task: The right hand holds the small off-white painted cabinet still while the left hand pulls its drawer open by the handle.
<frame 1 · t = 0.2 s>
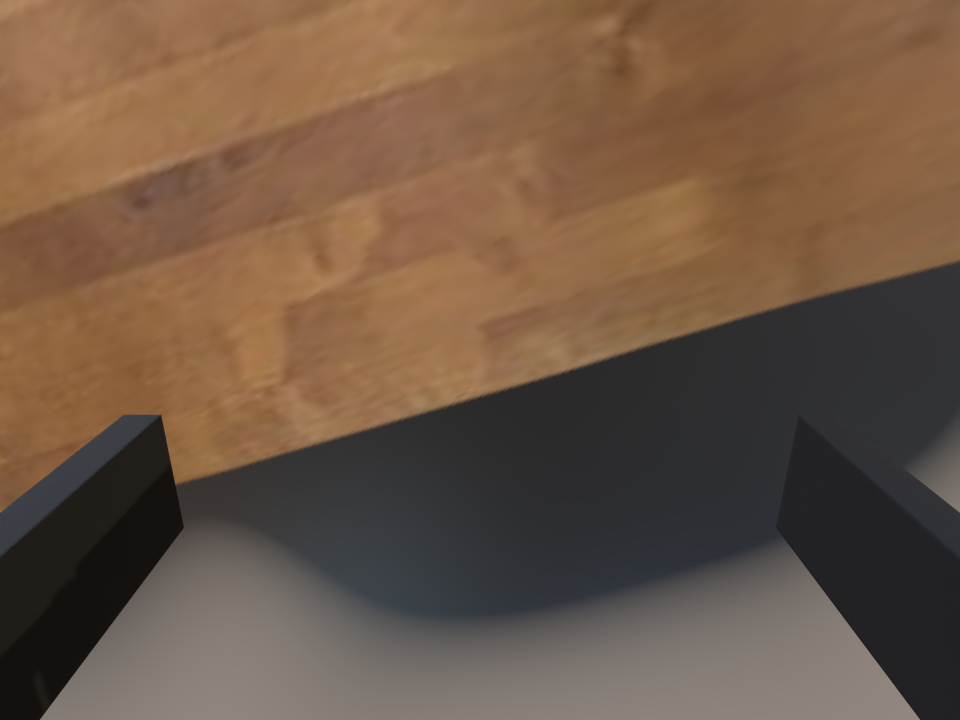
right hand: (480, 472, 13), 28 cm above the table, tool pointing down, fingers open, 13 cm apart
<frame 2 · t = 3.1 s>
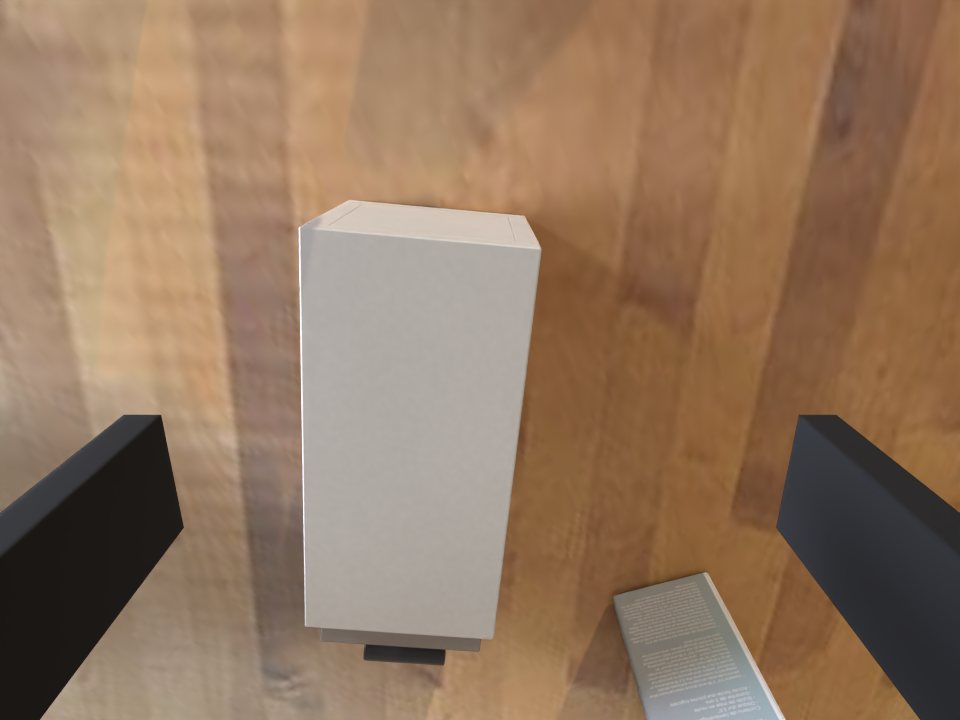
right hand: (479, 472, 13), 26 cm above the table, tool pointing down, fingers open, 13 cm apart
cabinet: (426, 378, 40), on the table
hard drive box: (678, 653, 48), on the table
drawer: (414, 496, 37), point 5 cm above the table, slide at 0.8 cm
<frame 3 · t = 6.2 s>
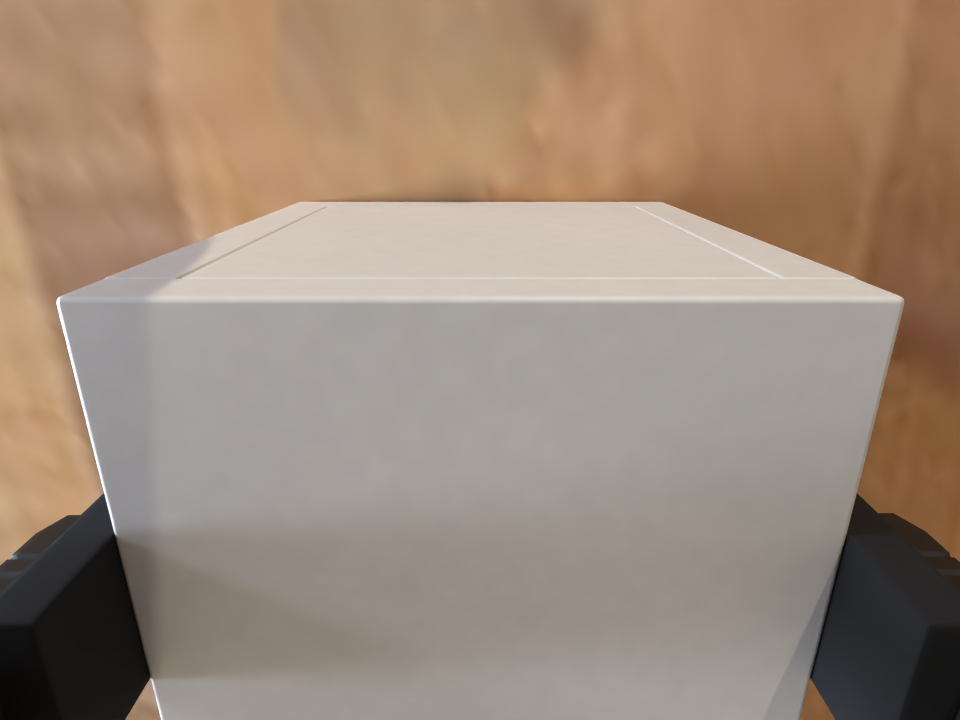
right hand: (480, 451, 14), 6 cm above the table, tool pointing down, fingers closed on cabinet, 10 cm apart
cabinet: (480, 523, 21), on the table, touching right hand
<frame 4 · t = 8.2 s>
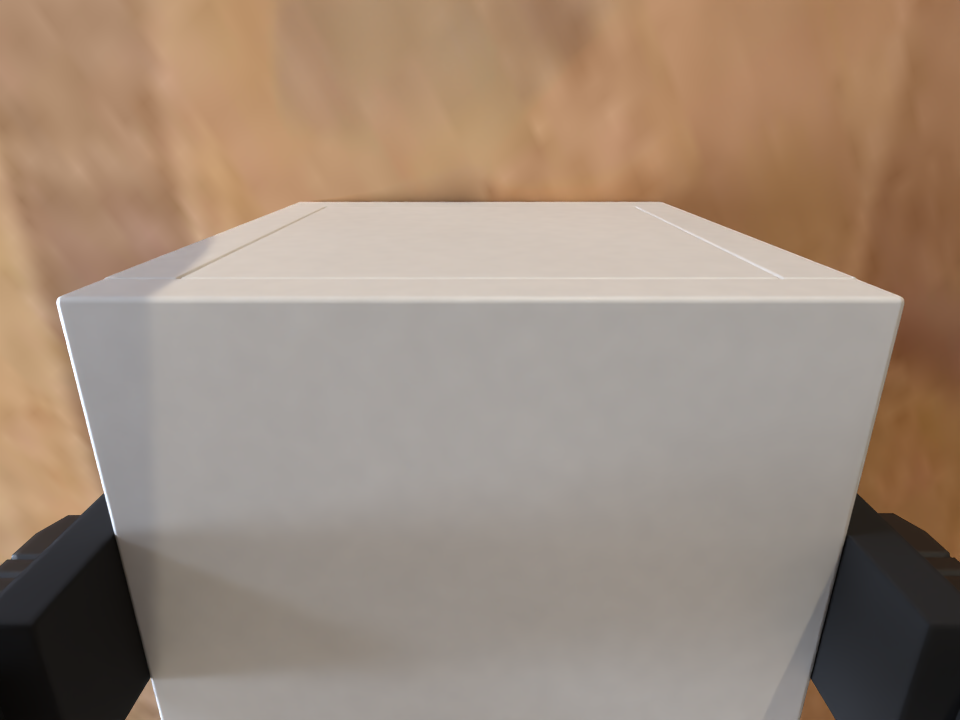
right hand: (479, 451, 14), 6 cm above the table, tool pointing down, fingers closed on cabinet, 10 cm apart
cabinet: (480, 523, 21), on the table, touching right hand
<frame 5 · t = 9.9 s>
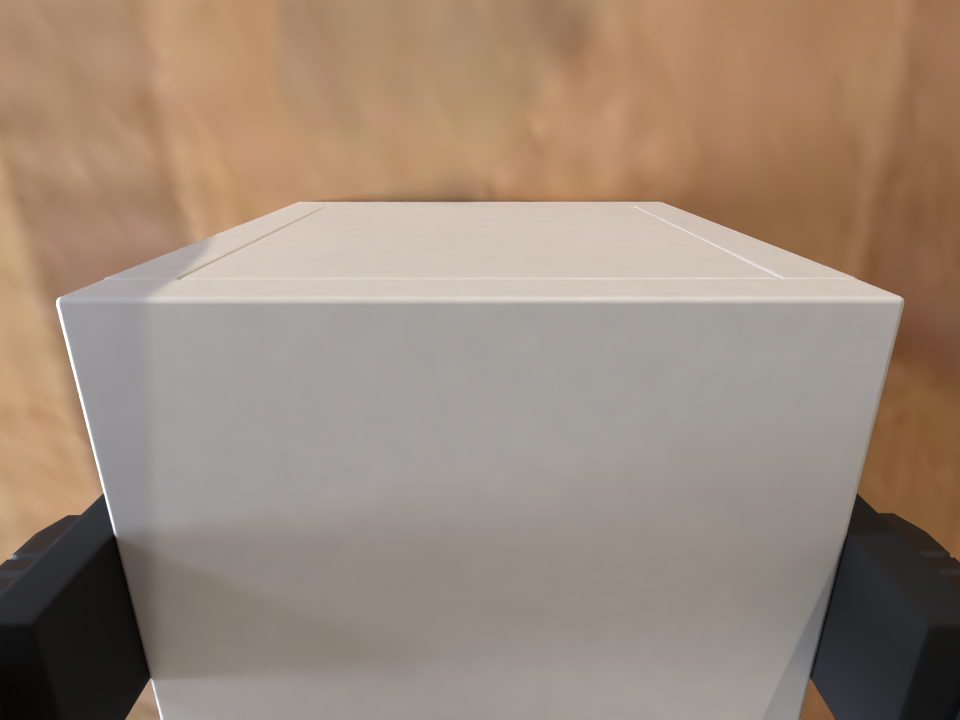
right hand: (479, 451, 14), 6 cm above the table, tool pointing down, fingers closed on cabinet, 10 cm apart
cabinet: (480, 523, 21), on the table, touching right hand
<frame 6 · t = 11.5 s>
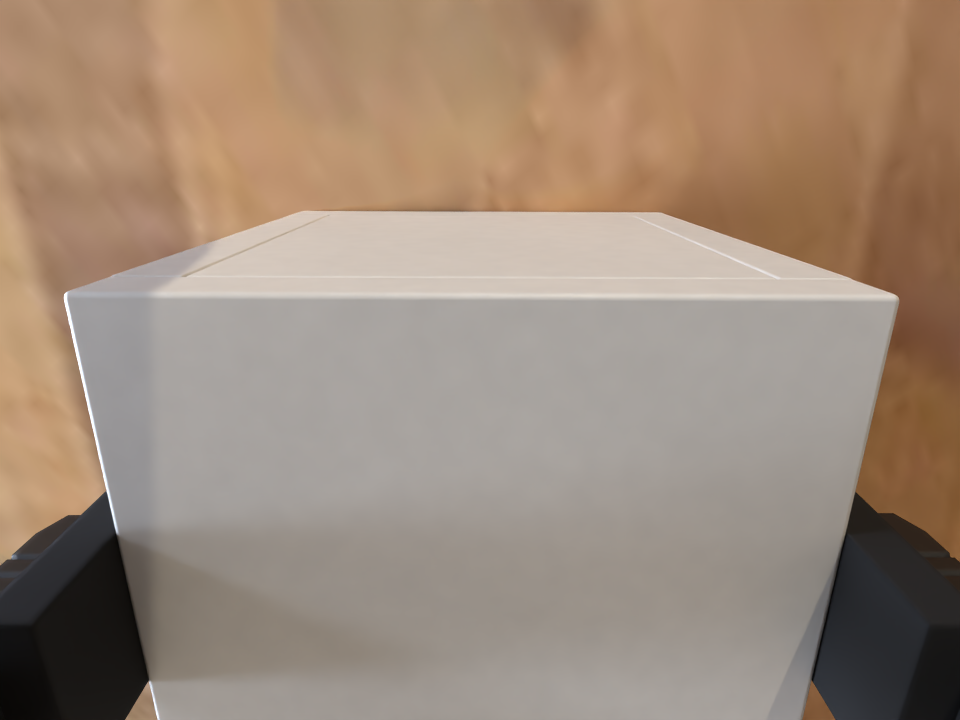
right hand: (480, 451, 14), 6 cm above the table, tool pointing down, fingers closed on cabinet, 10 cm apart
cabinet: (479, 533, 21), on the table, touching right hand
when the right hand's fingers open (6 cm above the table, at t = 12.6 s): cabinet stays where it is, on the table.
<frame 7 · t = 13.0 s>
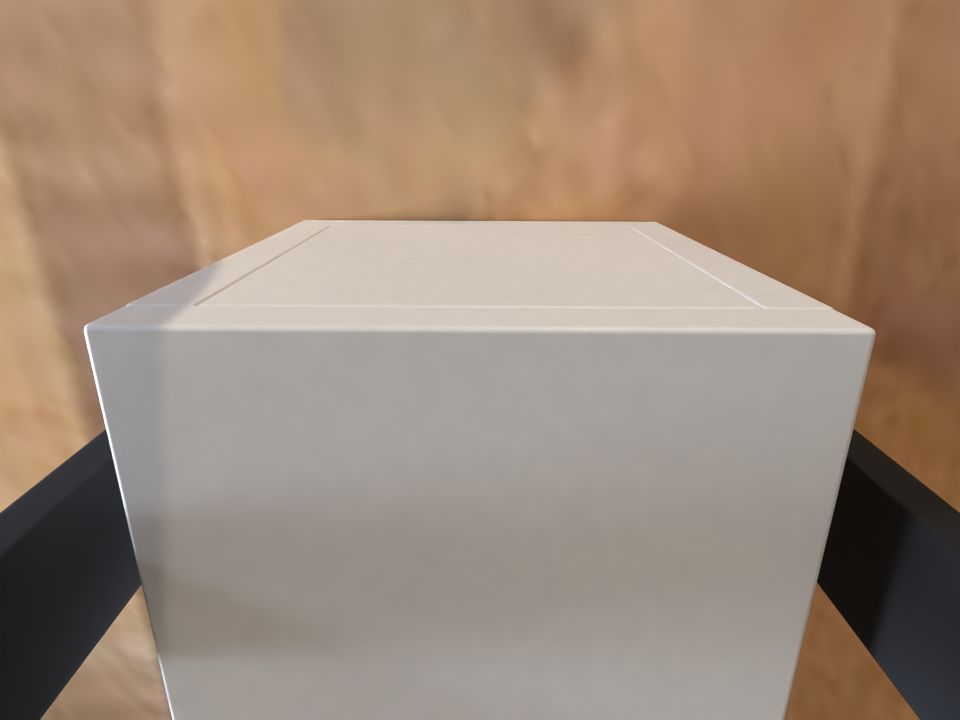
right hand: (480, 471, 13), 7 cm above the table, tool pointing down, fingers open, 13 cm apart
cabinet: (478, 532, 22), on the table
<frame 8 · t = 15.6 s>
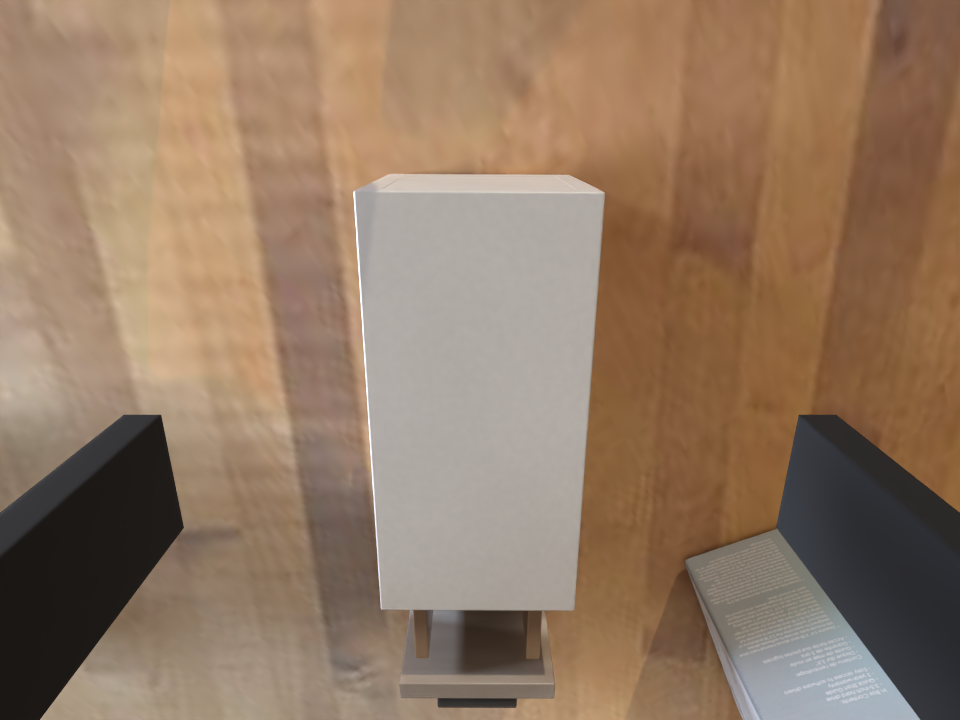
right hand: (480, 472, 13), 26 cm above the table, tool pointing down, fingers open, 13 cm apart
cabinet: (478, 352, 39), on the table
hard drive box: (756, 616, 46), on the table
drawer: (477, 550, 38), point 5 cm above the table, slide at 6.4 cm
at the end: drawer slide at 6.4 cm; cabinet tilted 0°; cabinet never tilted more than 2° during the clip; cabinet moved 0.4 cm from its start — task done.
